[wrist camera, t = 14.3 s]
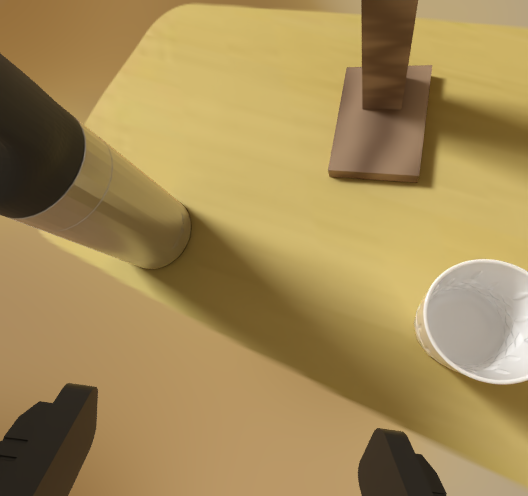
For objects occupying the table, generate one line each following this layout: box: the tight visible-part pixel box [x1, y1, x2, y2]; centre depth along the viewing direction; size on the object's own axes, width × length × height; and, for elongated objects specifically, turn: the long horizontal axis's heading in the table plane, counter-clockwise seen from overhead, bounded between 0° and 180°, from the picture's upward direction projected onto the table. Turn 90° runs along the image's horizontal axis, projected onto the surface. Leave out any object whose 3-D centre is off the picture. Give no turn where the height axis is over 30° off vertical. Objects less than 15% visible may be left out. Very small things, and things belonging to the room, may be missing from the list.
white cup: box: [414, 259, 528, 385], centre depth 27 cm, size 8×8×10 cm
